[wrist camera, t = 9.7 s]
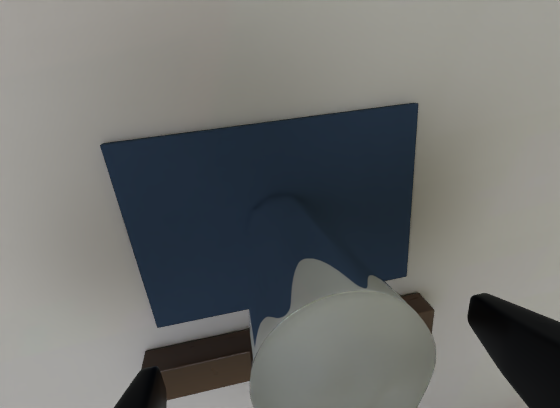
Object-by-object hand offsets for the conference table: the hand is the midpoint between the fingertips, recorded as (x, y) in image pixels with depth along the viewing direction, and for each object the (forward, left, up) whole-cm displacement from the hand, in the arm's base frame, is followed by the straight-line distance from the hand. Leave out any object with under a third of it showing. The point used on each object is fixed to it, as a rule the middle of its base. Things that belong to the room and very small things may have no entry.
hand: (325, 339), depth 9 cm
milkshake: (0, 0, -7) cm, 7 cm away
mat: (0, 0, -7) cm, 7 cm away
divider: (-7, 0, -7) cm, 10 cm away
